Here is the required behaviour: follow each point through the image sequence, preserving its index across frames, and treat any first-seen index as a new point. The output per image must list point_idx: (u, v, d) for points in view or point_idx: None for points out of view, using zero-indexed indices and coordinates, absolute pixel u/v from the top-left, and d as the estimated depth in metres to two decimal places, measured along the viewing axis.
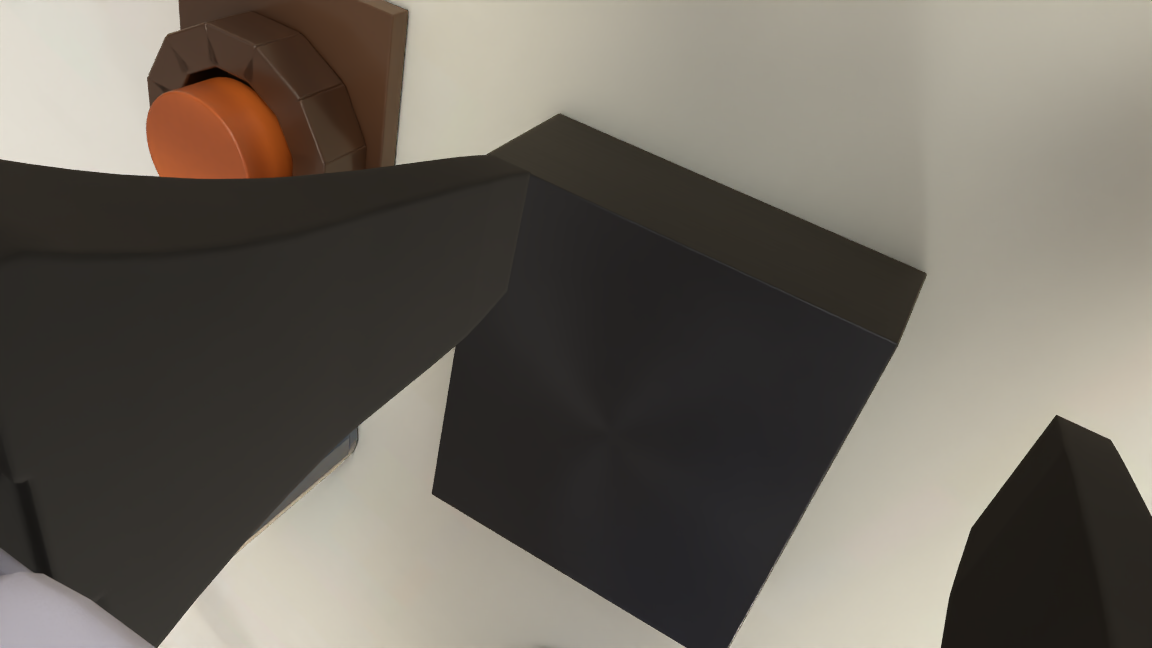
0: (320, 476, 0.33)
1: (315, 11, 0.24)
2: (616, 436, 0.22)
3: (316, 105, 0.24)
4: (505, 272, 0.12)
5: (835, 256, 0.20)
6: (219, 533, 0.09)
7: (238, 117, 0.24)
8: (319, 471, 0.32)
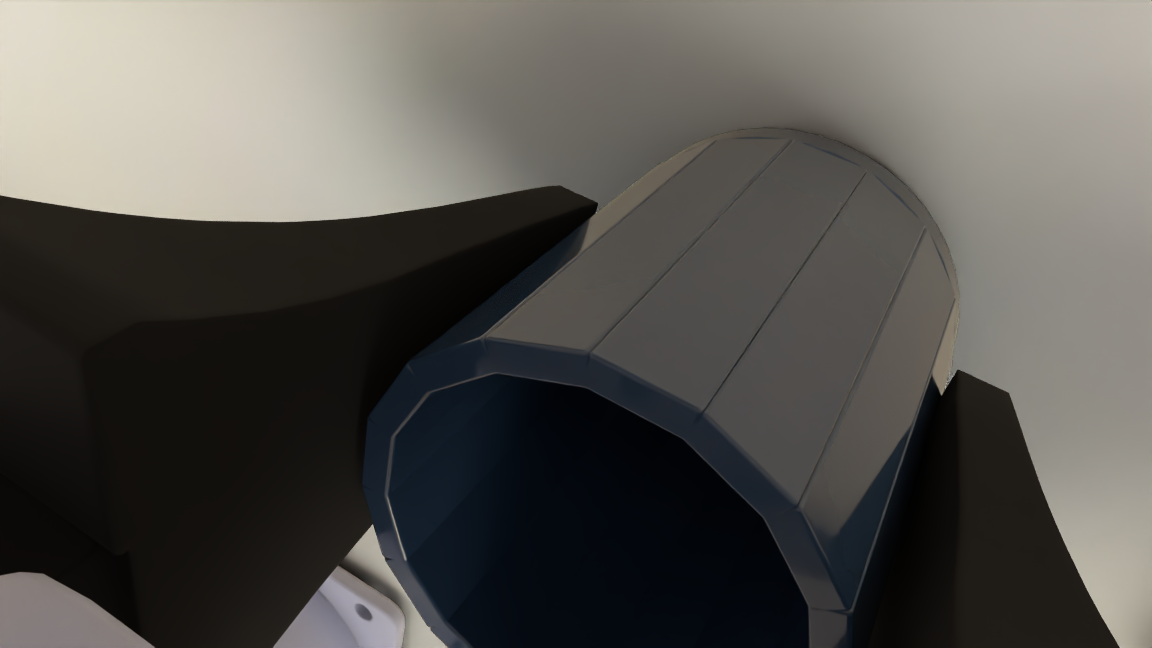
0: None
1: None
2: None
3: None
4: None
5: None
6: (295, 584, 0.09)
7: None
8: None
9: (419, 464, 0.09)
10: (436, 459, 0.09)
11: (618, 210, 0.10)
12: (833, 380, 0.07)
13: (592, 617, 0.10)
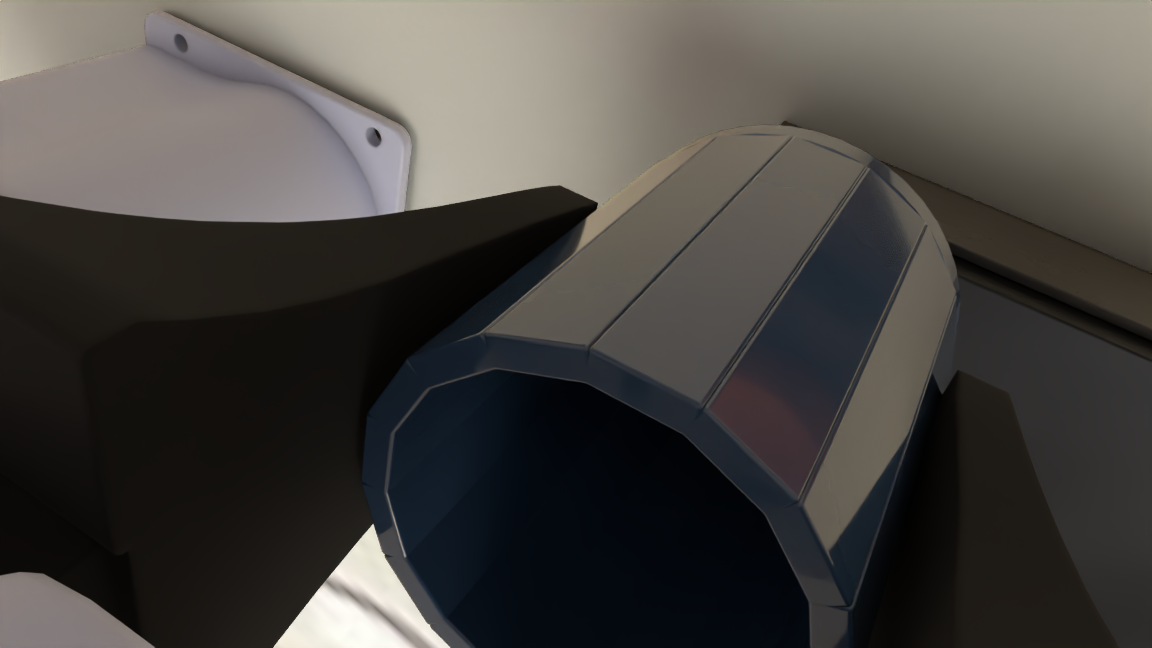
0: None
1: None
2: None
3: None
4: None
5: None
6: (295, 584, 0.09)
7: None
8: None
9: (418, 462, 0.09)
10: (436, 457, 0.09)
11: (618, 206, 0.10)
12: (834, 376, 0.07)
13: (593, 615, 0.10)
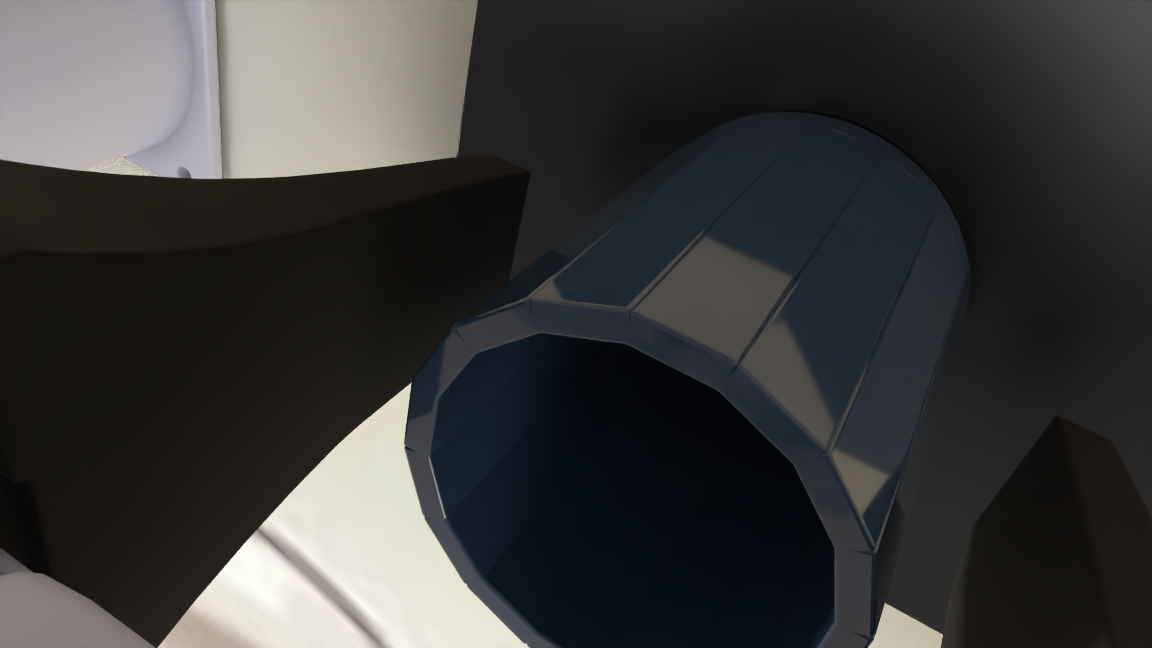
0: None
1: None
2: None
3: None
4: (505, 272, 0.12)
5: None
6: (219, 533, 0.09)
7: None
8: None
9: (457, 427, 0.10)
10: (473, 424, 0.10)
11: (646, 187, 0.10)
12: (855, 341, 0.08)
13: (620, 577, 0.11)
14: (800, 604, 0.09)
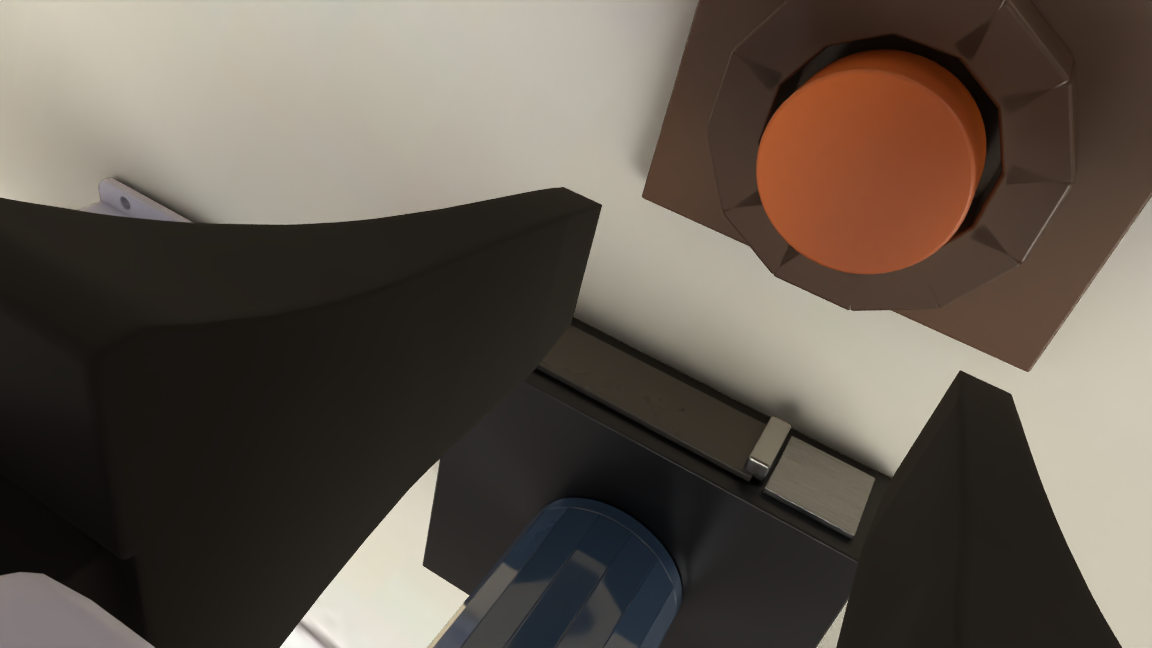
0: None
1: (1055, 264, 0.18)
2: None
3: None
4: (571, 305, 0.12)
5: None
6: (300, 587, 0.09)
7: None
8: None
9: None
10: None
11: (517, 561, 0.23)
12: None
13: None
14: None
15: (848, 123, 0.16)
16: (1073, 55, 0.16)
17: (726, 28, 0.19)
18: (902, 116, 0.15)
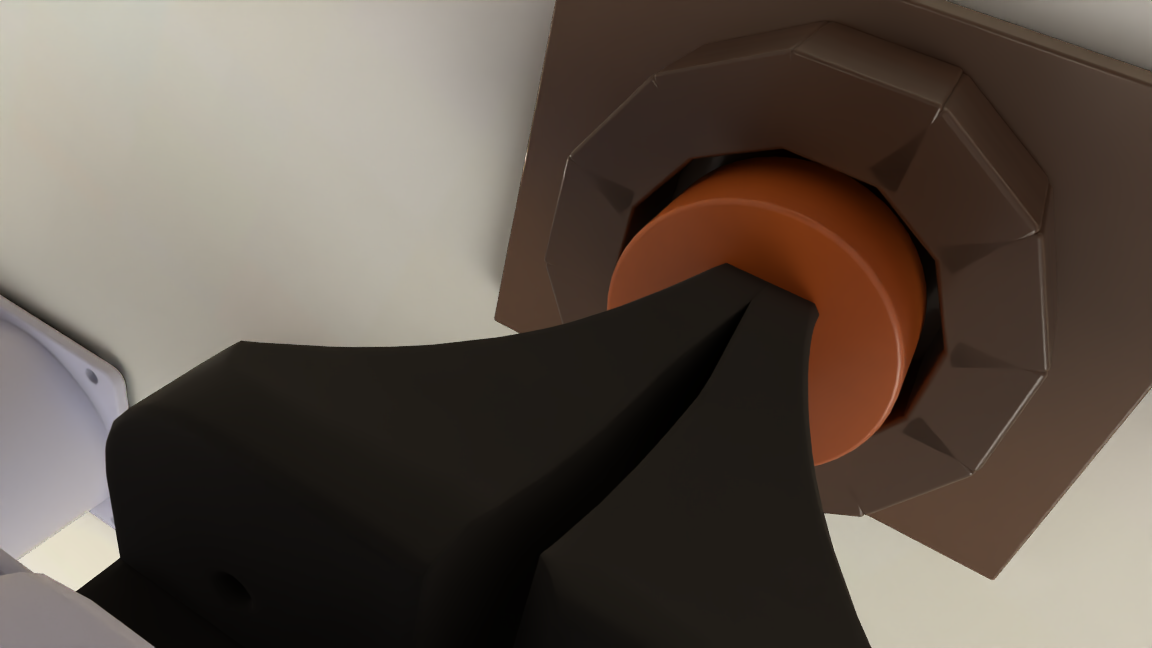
0: None
1: (1027, 451, 0.13)
2: None
3: None
4: None
5: None
6: None
7: None
8: None
9: None
10: None
11: None
12: None
13: None
14: None
15: None
16: (1048, 176, 0.11)
17: (578, 114, 0.14)
18: (797, 268, 0.10)
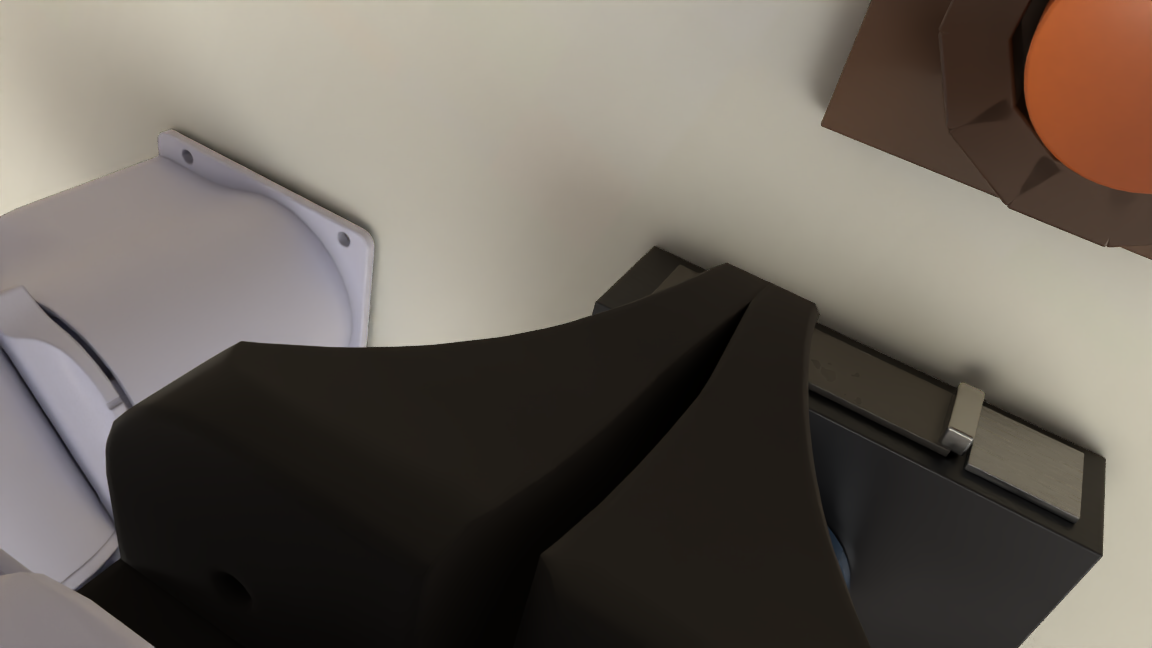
0: None
1: None
2: None
3: None
4: None
5: None
6: None
7: None
8: None
9: None
10: None
11: None
12: None
13: None
14: None
15: None
16: None
17: None
18: None
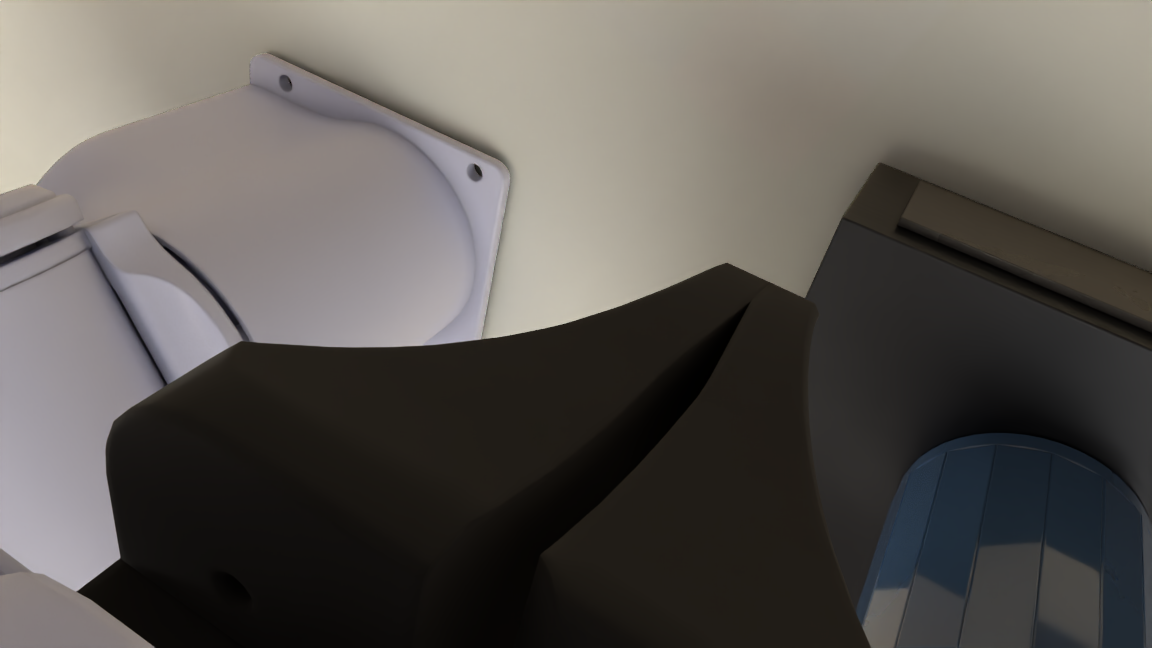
0: None
1: None
2: None
3: None
4: None
5: None
6: None
7: None
8: None
9: None
10: None
11: (961, 516, 0.16)
12: None
13: None
14: None
15: None
16: None
17: None
18: None
